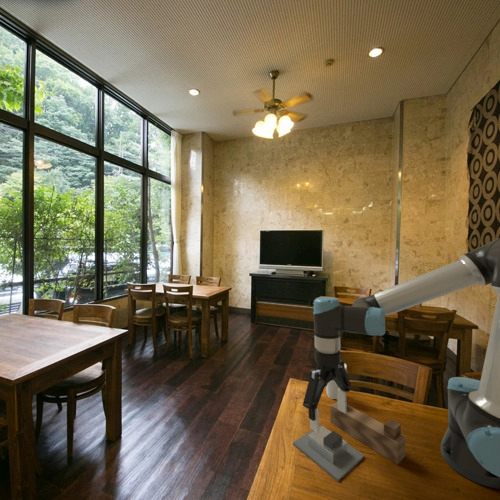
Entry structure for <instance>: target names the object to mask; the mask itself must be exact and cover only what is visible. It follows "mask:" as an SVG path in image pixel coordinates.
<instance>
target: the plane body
mask: <svg viewBox="0 0 500 500" xmlns="http://www.w3.org/2000/svg"><path fill="white" fill-rule="evenodd" d="M346 407H347V413H346V414H345V413H343V412H341V411H339V410H338V402H337V401H335V402H334V403H332V404H330V423H331V424H332V425H334V426H335V427H336V428H338V429H340V430H342V431H343V432H345V433H347V434H348V435H350V436H352V437H353V438H354V439H356V440H357V441H360V442H361V443H363V444H364V445H366V446H367V447H369V448H370V449H372V450H374V451H375V452H377V453H378V454H380V455H381V456H383V457H384V458H385V459H388V460H390V461H391V462H392V463H394V464H396V465H399V464H400V463H401V462H402V461H403V460H404V458H405V457H406V435H405V434H403V433H402V431H401V430H402V428H401V427H402V424H401V423H399V422H398V421H396V420H393V419H391V418H389V419H388V420H387V421H386V422H385V423H382V422H381V421H379V420H377V419H375V418H373V417H371V416H370V415H367V414H365V413H363V412H362V411H360V410H358V409H356V408H355V407H352V406H350V405H349V404H348V399H347V398H346Z"/></svg>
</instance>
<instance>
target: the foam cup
mask: <svg viewBox="0 0 500 500" xmlns="http://www.w3.org/2000/svg"><path fill="white" fill-rule="evenodd" d="M344 366H345V370H346V372H347V373H348V371H347V369H348V368H347V366H348V365H347V364H346V363H345V362H344ZM338 388H339V387H338V385H337V384H336V383H335V381H334V380H332V381H330V382H329V383H328V384H327V386H326V387H325V389H326V390H325V391H326V396H327V395H328V396H327V397H328V398H329V397H330V398H329V399H331V398H332V399H331V400H333V399H337V389H338ZM339 389H340V388H339Z"/></svg>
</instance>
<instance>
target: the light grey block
mask: <svg viewBox="0 0 500 500" xmlns="http://www.w3.org/2000/svg"><path fill="white" fill-rule="evenodd" d="M320 426H321V427H319V432H318V433H317V432H315V431H313V432H312V433H310V434H309V435H308V445H309V446H310V447H311V448H313V449H314V450H315V451H316V452H318V453H319V454H320V455H322V456H323V457H324V458H325V459H327V460H328V461H329V462H331V463H332V464H334V463H336V462H337V461H338V460H339V459H340V458H342V457H343V456H344V455H345V454H346V453H347V444H348V442H347V441H346V440H345V439H343V436H342V435H341V434H340V433H338V432H336V431H334V430H332V431H331V430H329V429H328V428H327V427H325V426H324V425H320Z"/></svg>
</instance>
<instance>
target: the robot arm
mask: <svg viewBox="0 0 500 500" xmlns="http://www.w3.org/2000/svg"><path fill="white" fill-rule="evenodd" d="M475 285H476V286H477V285H479V286H480V287H484V286H487V285H490V288H491V289H492V290H493V291H494V292H495V293H496V294H497V299H496V302H495V308H494V313H493V318H492V323H491V328H490V333H489V337H488V343H487V347H486V351H485V356H484V357H485V358H484V361H483V367H482V371H481V372H482V373H481V375H480V376H481V377H480V380H478V379H476V378H475V379H474V378H470V377H463V376H462V377H461V376H454V377H450V378H449V380H448V384H447V387H446V388H447V408H448V409H447V411H448V412H447V414H448V415H447V417H448V418H447V423H448V424H447V426H448V427H447V429H446V431H445V433H444V436H443V437H442V440H441V442H440V454H441V457H442V458H443V459H444V461H445V462H446V463H447V464H448V465H449V466H450V467H451V468H452V469H453V470H454V471H456V473H458V474H460V475H462V476H463V477H464V478H466V479H468V480H470V481H471V482H474V483H476V484H478V485H481V486H484V487H488V488H492V489H496V490H497V489H498V490H499V489H500V237H499V238H496V239H494V240H491V241H489V242H487V243H486V244H484V245H481V246H479V247H477V248H475V249H473V250H471V251H469V252H466V253H463V254H461V255H460V257H459V259H458V260H457V261H454V262H451V263H449V264H447V265H443V266H440V267H439V268H436V269H434V270H431V271H429V272H426V273H423V274H421V275H418V276H416V277H413V278H411V279H409V280H406V281H403V282H401V283H398V284H396V285H393V286H391V287H388V288H386V289H385V288H384V290H383V289H382V290H381V291H378V292H375V293H374V294H370V295H368V296H363V297H359V298H357V299H355V301H353V303H352V305H342V304H341V303H340V300H339V298H336V297H334V296H333V297H332V296H320V297H316V298H315V299H314V300H313V312H312V314H313V333H314V336H313V337H314V361H315V363H316V365H317V368H316V370H314V369H310V371H309V379H308V383H307V388H306V390H305V394H304V398H303V402H302V406H303V407H304V408H306V409H307V410H308V419H309V429H311V430H314V431H315V432H317V433H318V432H319V425H320V417H319V416H320V415H319V414H320V413H319V412H320V411H319V410H320V409H319V408H318V405H319V402H320V400H321V397H322V395H323V392H324V390H325V388H326V386H327V384H328V383H329V382H330V381H332V380H334V381H335V383H336V384H337V385H338V387H339V388H340V389H339V388H338V389H337V400H336V402H338V410H339V411H341V412H343V413H345V414H346V413H347V407H346V399H347V393H349V392H350V390H351V389H350V387H351V385H352V384H351V381H350V378H349V376H348V371H347V372H346V370H345V366H344V363H345V360H342V359H341V358H342V357H341V351H340V350H341V348H342V347H341V332H342V333H353V334H361V335H368V336H384V335H385V333H386V316H389V315H390V316H391V315H392V314H395V313H398V312H401V311H405V310H407V309H410V308H412V307H416V306H418V305H421V304H424V303H426V302H430V301H433V300H435V299H437V298H441V297H444V296H447V295H449V294H452V293H455V292H457V291H460V290H464V289H466V288H469V287H473V286H475Z"/></svg>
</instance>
